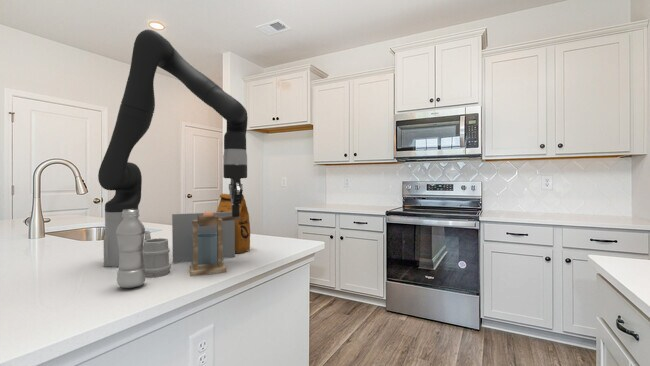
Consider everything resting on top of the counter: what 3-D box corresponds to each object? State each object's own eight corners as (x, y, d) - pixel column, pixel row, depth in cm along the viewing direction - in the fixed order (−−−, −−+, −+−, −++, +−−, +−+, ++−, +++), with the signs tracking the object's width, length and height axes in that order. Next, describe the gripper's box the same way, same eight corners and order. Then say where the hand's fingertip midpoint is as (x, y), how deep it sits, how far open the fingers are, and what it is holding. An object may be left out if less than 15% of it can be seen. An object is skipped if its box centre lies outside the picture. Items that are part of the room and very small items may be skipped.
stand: (190, 276, 92) (189, 222, 91) (189, 269, 98) (189, 219, 98) (226, 272, 96) (226, 220, 95) (223, 266, 102) (223, 217, 102)
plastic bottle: (125, 293, 78) (124, 211, 78) (111, 288, 82) (110, 210, 82) (151, 285, 84) (150, 209, 83) (137, 281, 87) (136, 207, 87)
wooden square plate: (199, 226, 90) (199, 217, 90) (197, 220, 102) (197, 212, 102) (246, 223, 95) (246, 215, 95) (239, 218, 107) (239, 210, 107)
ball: (203, 222, 91) (203, 211, 91) (202, 220, 94) (202, 210, 94) (214, 221, 93) (214, 211, 93) (213, 220, 95) (213, 210, 95)
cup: (191, 268, 100) (191, 238, 100) (191, 261, 108) (191, 234, 108) (220, 265, 103) (220, 236, 103) (218, 258, 111) (218, 232, 111)
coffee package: (236, 255, 116) (236, 194, 116) (212, 251, 122) (211, 193, 122) (254, 250, 125) (254, 193, 124) (231, 246, 131) (231, 192, 130)
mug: (148, 279, 89) (147, 236, 89) (131, 271, 96) (130, 231, 96) (175, 273, 95) (175, 232, 94) (157, 266, 102) (157, 228, 102)
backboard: (172, 262, 106) (172, 214, 106) (172, 261, 107) (172, 214, 107) (234, 256, 114) (234, 211, 114) (234, 256, 115) (234, 211, 115)
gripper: (221, 164, 109) (221, 215, 109) (225, 162, 97) (226, 219, 97) (243, 164, 112) (243, 214, 112) (250, 163, 100) (251, 218, 100)
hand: (235, 216), depth 105 cm, fingers closed
